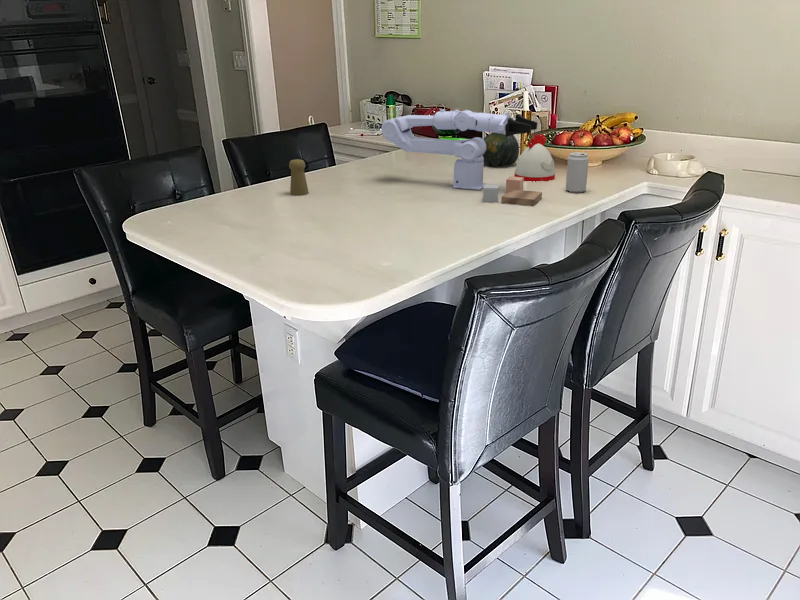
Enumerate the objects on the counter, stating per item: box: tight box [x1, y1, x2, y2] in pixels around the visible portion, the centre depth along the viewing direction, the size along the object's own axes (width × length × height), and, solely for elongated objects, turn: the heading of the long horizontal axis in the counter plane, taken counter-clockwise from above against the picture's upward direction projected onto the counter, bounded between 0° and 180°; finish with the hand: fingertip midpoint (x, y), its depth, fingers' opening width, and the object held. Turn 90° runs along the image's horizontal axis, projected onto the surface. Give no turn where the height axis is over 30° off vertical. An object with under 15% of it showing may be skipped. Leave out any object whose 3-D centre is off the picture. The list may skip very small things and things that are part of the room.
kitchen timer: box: [514, 133, 556, 183], centre depth 227 cm, size 14×14×15 cm
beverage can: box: [565, 151, 590, 194], centre depth 208 cm, size 6×6×12 cm
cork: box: [288, 158, 310, 197], centre depth 212 cm, size 6×6×11 cm
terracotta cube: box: [505, 176, 525, 193], centre depth 210 cm, size 4×4×4 cm
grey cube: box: [482, 184, 499, 203], centre depth 201 cm, size 4×4×4 cm
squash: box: [482, 132, 520, 167], centre depth 248 cm, size 14×15×15 cm
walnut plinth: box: [500, 189, 543, 207], centre depth 200 cm, size 10×10×2 cm
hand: (533, 127), depth 203 cm, fingers open, 7 cm apart
